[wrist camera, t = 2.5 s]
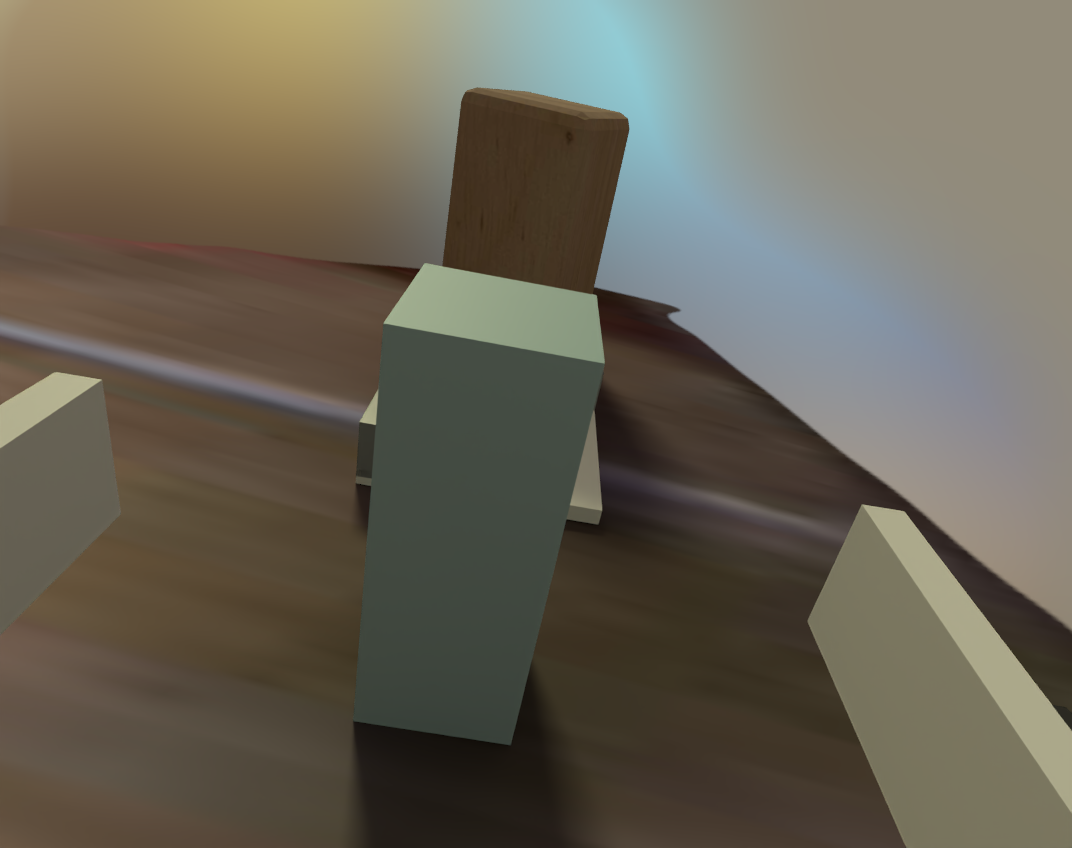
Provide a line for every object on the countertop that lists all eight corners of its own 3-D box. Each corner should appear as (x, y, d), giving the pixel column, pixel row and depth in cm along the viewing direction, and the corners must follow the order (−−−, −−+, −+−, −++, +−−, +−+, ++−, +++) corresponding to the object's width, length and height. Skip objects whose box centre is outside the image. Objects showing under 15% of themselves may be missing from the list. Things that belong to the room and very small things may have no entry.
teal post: (353, 721, 26) (383, 323, 18) (389, 607, 31) (424, 263, 24) (510, 745, 26) (604, 363, 18) (520, 629, 31) (596, 295, 24)
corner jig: (355, 483, 39) (359, 421, 37) (406, 380, 51) (411, 330, 49) (598, 524, 39) (614, 466, 38) (591, 413, 52) (602, 365, 50)
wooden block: (535, 389, 54) (589, 114, 44) (427, 349, 57) (457, 84, 47) (582, 353, 62) (636, 115, 53) (486, 320, 65) (521, 89, 56)
